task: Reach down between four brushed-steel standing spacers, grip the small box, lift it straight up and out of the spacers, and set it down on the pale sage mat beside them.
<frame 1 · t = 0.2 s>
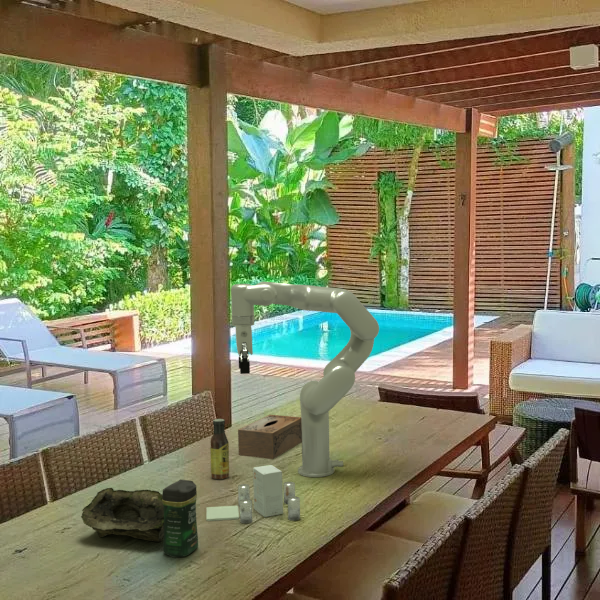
hand: (244, 370, 277), 37 cm above the table, tool pointing down, fingers open, 9 cm apart
small box: (268, 512, 246), on the table
tissue box cover: (271, 449, 315), on the table
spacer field: (268, 511, 246), on the table
sage mat: (222, 514, 244), on the table
coffee jar: (181, 551, 218), on the table
sauce bottle: (220, 477, 280), on the table
hollow geode rock: (131, 539, 227), on the table
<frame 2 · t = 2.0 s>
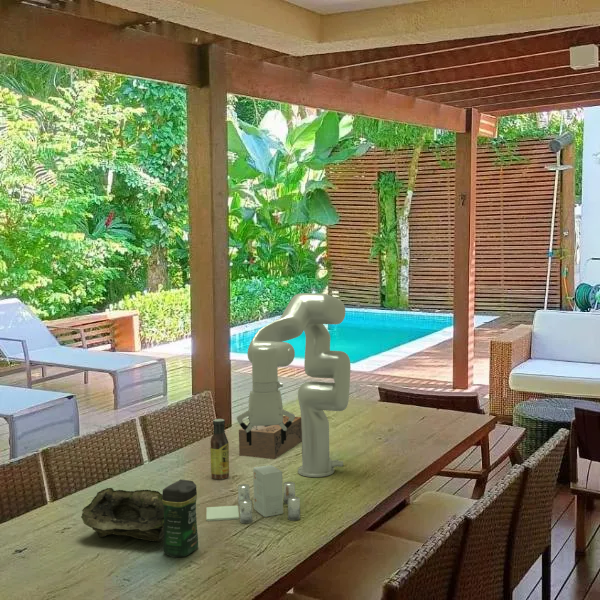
hand: (266, 443, 244), 21 cm above the table, tool pointing down, fingers open, 9 cm apart
nothing on the table moved.
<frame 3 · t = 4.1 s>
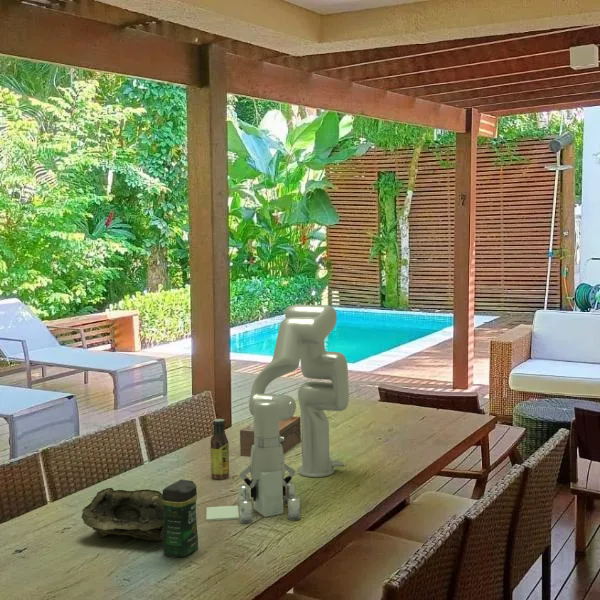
hand: (268, 498, 246), 4 cm above the table, tool pointing down, fingers closed on small box, 7 cm apart
small box: (268, 512, 246), on the table, touching gripper
everything else where it was.
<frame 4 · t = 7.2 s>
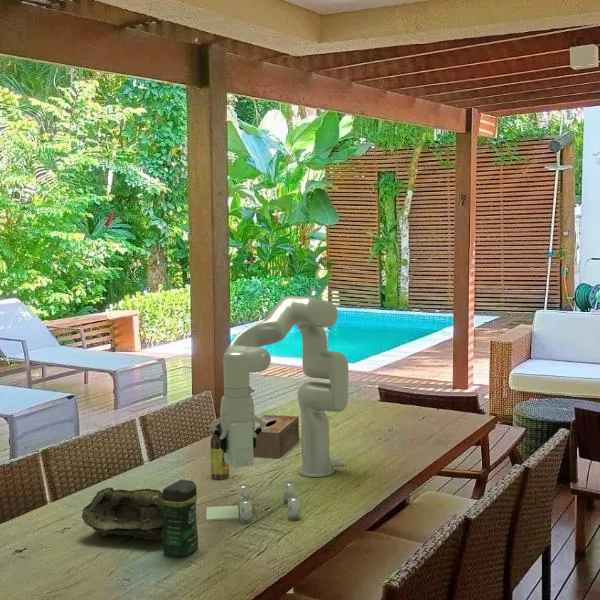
hand: (238, 450, 243), 19 cm above the table, tool pointing down, fingers closed on small box, 7 cm apart
small box: (239, 464, 244), point 15 cm above the table, touching gripper
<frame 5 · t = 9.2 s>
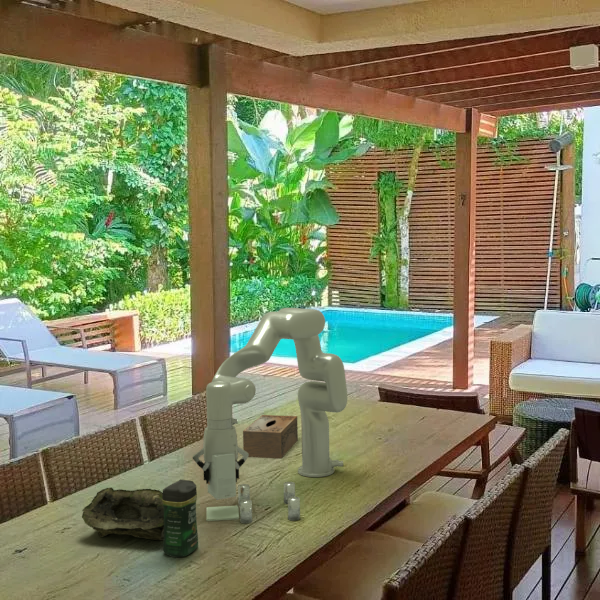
hand: (221, 481, 243), 10 cm above the table, tool pointing down, fingers closed on small box, 7 cm apart
small box: (221, 495, 244), point 6 cm above the table, touching gripper
when the fingers open (6 cm above the table, at t = 10.6 s): small box drops 1 cm, resting on sage mat.
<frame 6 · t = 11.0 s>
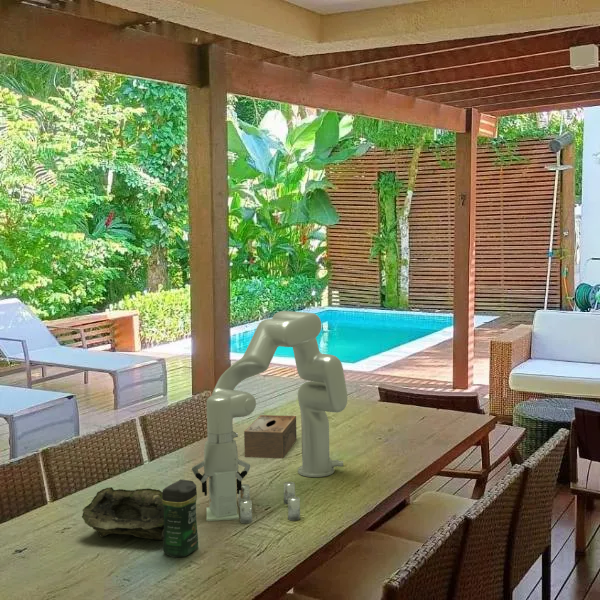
hand: (221, 493, 244), 6 cm above the table, tool pointing down, fingers open, 9 cm apart
small box: (223, 512, 245), resting on sage mat
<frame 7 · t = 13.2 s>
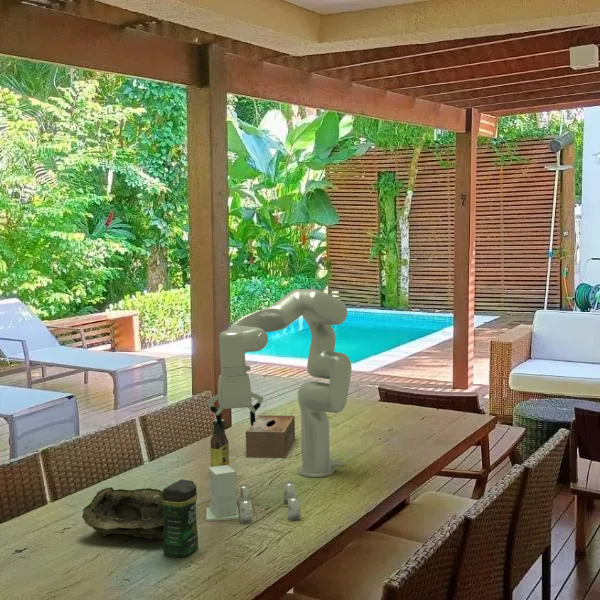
hand: (236, 425, 252), 24 cm above the table, tool pointing down, fingers open, 9 cm apart
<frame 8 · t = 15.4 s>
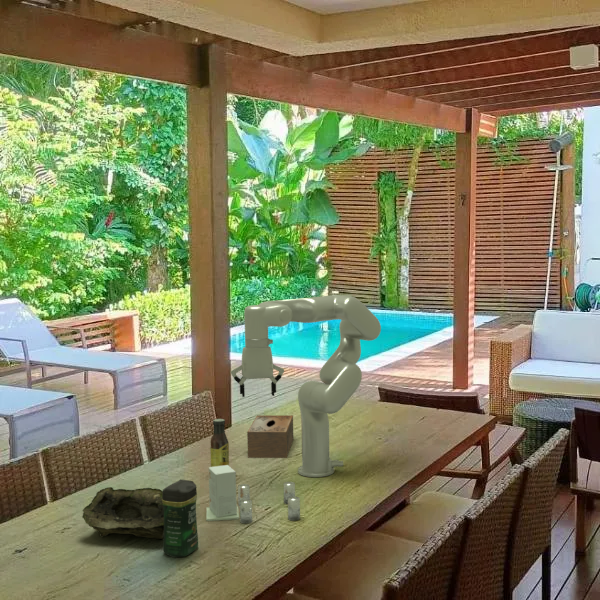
hand: (258, 395, 267), 30 cm above the table, tool pointing down, fingers open, 9 cm apart
at the end: small box inside the target area on the sage mat (0.3 cm from its centre), point 0.4 cm above the sage mat's base; small box tilted 0°; the gripper is holding nothing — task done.
